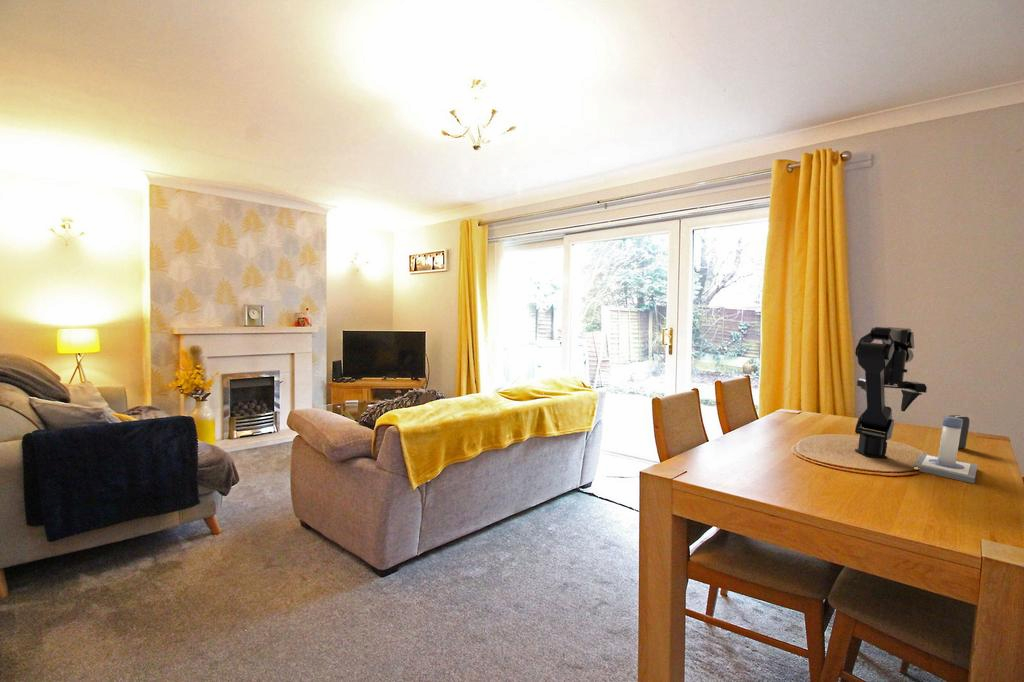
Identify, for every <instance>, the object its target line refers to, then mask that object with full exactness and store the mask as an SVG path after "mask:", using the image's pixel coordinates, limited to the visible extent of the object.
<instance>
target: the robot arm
mask: <svg viewBox="0 0 1024 682" xmlns="http://www.w3.org/2000/svg"><path fill="white" fill-rule="evenodd" d="M914 334H915V333H914V332H913V331H912V329H911V328H908V327H892V326H886V327H884V326H883V327H882V326H874V327H873V326H872V328H871V329H870V332H868V333H867V334H866V335H864V336H862V337H860V339H859V340H858V343H857V345H856V346H855V347H856V348H855V352H854V353H855V354H854V355H855V357H857V364H858V365H859V366H860V367H861V368H862V369H863V370H864V375H865V376H864V377H863V378H861V377H860V378H858V380H857V383H856V387H860V389H862V390H864V391H865V392H866V393H865V394H866V395H865V398H866V406H865V408H864V410H863V412H862V413H861V415H860V416H858V419H857V422H856V426H855V430H854V433H855V434H856V435H857V434H858V435H859V438H858V439H859V440H858V446H857V448H854V451H855V452H857V453H859V454H861V455H863V456H865V457H867V458H868V457H870V458H879V457H884V458H883V459H888V458H887V457H888V455H886V454H887V447H888V442H887V441H888V440H891V438H892V435H893V430H894V428H895V427H894V426H895V420H894V419H893V415H892V413H893V412H892V411H893V409H892V408H891V407H890V406H886V403H885V402H886V399H885V388H888V389H901V390H900V391H901V394H902V396H901V397H902V399H901V403H900V404H901V405H900V411H901V412H906V410H907V409H908V408H909V406H910V405H911V404H912V403H913V402H914V400H916V399H917V398H918V397H919V396H922V395H923V393H925V394H926V393H927V392H928V391H927V390H928V387H927V385H926V384H925V383H922V382H918V381H912V380H911V381H910V380H908V381H907V380H904V375H905V373H908V369H907V368H905V367H906V364H907V363H909V362H912V361H913V358H914V355H915V354H914V352H913V349H915V339H914V338H915V337H914V336H915V335H914ZM875 340H877V341H881V342H882V343H878V342H877V343H876V342H874V341H875Z"/></svg>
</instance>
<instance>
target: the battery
mask: <svg viewBox="0 0 1024 682" xmlns="http://www.w3.org/2000/svg"><path fill="white" fill-rule="evenodd" d="M949 416H950V417H956V418H960V419H963V424H962V428H961V433H960V440H959V446H958V449H965V448H966V447H967V441H968V440H967V439H968V435H969V428H970V418H969V417H967V416H965V415H960V414H958V415H957V414H952V415H949Z"/></svg>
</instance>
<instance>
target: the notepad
mask: <svg viewBox="0 0 1024 682" xmlns="http://www.w3.org/2000/svg"><path fill="white" fill-rule="evenodd" d="M937 461H938V456H937V455H932V454H926V453H922V452H921V453H920V455H919V456H918V458H917V459H916V461H915V463H914V464H913V468H914V467H918V468H920V470H919V471H918V472H921V473H925V474H931V475H934V476H939V477H943V478H947V479H953V480H956V481H961V482H964V483H965V482H966V483H968V484H969V483H970V484H972V485H973V484H975V482H976V475H977V470H978V464H976V463H971V462H965V461H962V460H961V461H960V460H957V459H956V465H955V466H947V465H943V464H940V463H938V462H937Z"/></svg>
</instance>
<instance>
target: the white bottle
mask: <svg viewBox="0 0 1024 682" xmlns="http://www.w3.org/2000/svg"><path fill="white" fill-rule="evenodd" d="M962 424H963V419H960V418H956V417H950V415H945V416H943V420H942V430H941V435H940V443H939V449H938V454H937V455H938V461H937V462H938V463H940V464H943V465H947V466H955V465H956V460H957V457H958V451H959V448H958V446H959V440H960V433H961V428H962Z"/></svg>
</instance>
